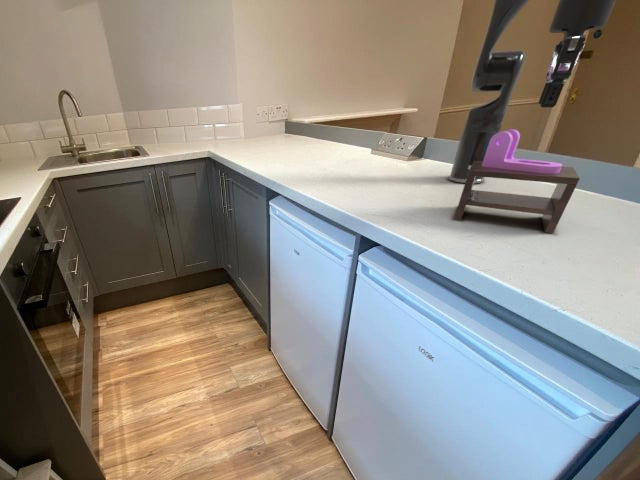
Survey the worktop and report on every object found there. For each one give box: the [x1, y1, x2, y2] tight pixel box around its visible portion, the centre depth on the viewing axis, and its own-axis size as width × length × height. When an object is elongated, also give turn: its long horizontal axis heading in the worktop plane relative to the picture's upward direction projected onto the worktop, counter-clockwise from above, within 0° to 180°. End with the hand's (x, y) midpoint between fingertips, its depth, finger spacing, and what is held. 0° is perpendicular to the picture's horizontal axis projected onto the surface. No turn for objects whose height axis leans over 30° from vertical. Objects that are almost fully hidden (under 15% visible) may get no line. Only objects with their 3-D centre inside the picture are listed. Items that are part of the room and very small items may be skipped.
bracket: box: [482, 128, 564, 174], centre depth 70 cm, size 13×6×7 cm, turn 39°
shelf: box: [453, 161, 580, 234], centre depth 75 cm, size 11×18×11 cm, turn 55°
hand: (545, 105), depth 66 cm, fingers open, 8 cm apart
